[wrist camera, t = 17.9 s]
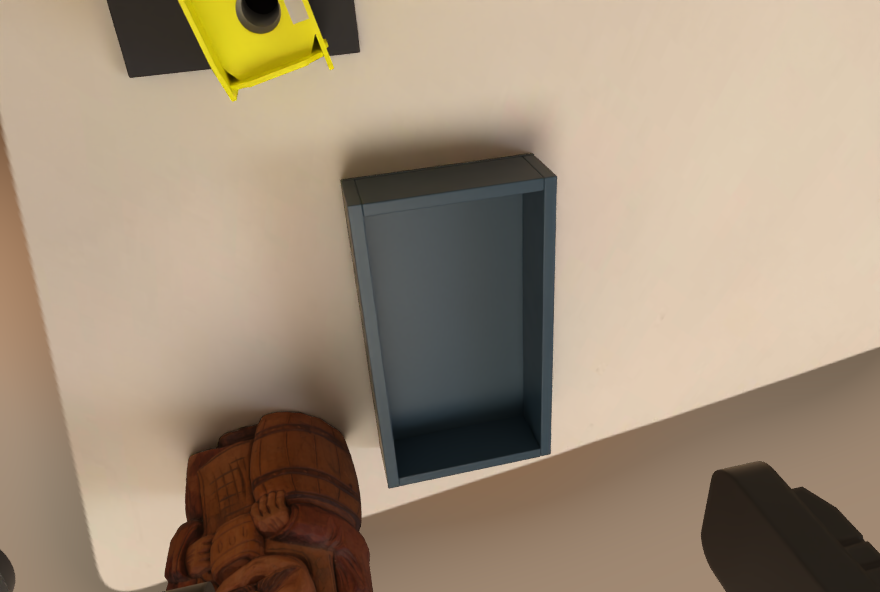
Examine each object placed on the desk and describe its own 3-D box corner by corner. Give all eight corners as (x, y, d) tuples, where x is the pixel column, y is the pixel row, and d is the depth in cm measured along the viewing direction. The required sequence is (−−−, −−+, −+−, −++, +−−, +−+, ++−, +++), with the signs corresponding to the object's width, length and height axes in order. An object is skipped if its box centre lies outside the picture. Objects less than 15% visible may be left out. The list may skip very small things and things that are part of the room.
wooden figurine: (322, 388, 48) (347, 614, 32) (357, 448, 51) (395, 679, 36) (167, 453, 48) (119, 711, 32) (212, 509, 51) (188, 767, 36)
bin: (380, 447, 51) (388, 488, 48) (340, 179, 41) (347, 206, 37) (531, 417, 53) (551, 454, 50) (532, 152, 42) (557, 175, 39)
